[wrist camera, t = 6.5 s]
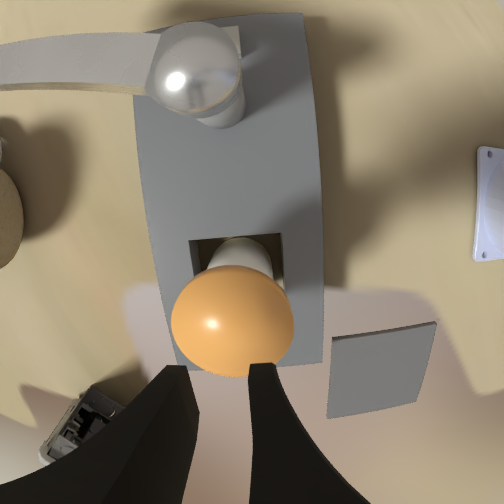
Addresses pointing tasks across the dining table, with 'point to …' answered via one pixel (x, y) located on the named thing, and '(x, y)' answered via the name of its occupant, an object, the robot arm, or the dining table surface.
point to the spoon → (133, 66)
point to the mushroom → (233, 312)
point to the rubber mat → (378, 369)
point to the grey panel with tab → (242, 174)
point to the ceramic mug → (9, 218)
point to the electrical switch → (79, 424)
